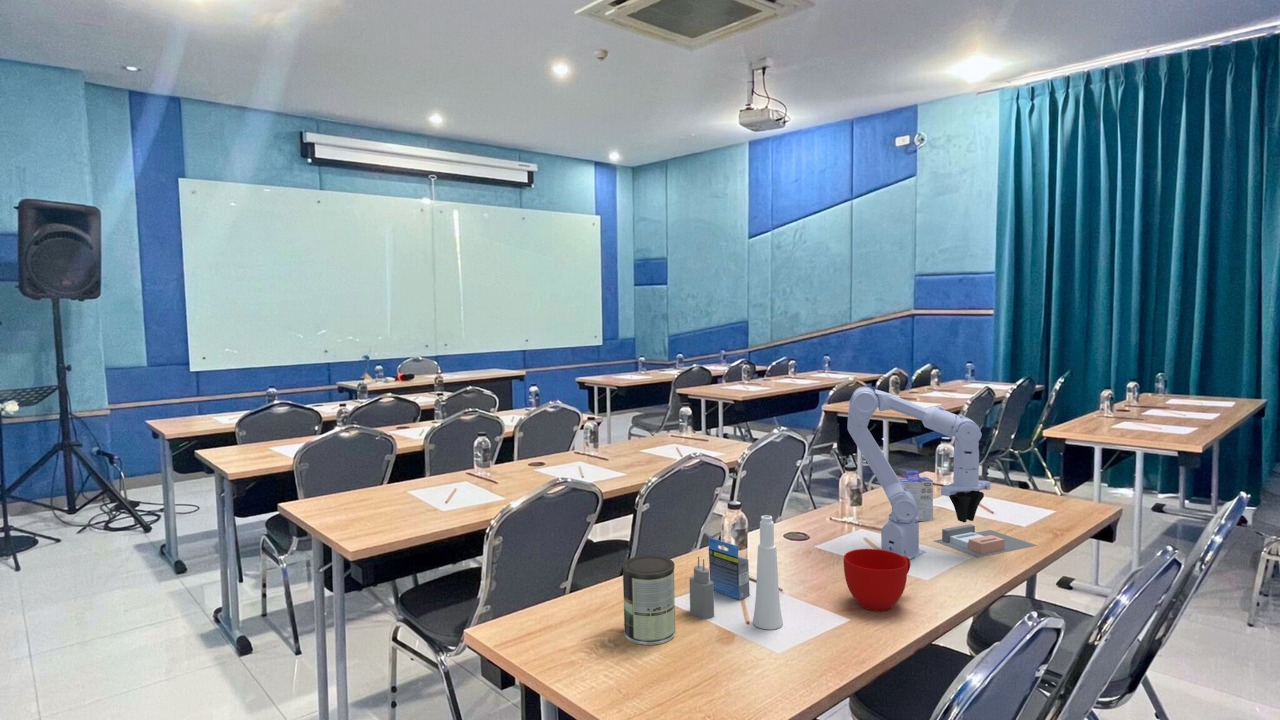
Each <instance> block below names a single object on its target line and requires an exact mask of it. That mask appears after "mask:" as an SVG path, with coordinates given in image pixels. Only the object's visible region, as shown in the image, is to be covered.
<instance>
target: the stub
mask: <svg viewBox="0 0 1280 720" xmlns="http://www.w3.org/2000/svg"><path fill="white" fill-rule="evenodd" d="M1004 549H1005V539H1002V538H999V537H996V536H993V535H989V536H984V537H979V538H974V539H969V550H972V551H975V552H977V553H980V554H985V553H989V552H994V551H999V550H1004Z"/></svg>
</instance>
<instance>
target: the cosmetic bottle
mask: <svg viewBox="0 0 1280 720" xmlns="http://www.w3.org/2000/svg"><path fill="white" fill-rule="evenodd" d="M760 519H761V520H760V522H759V543H758V545H757V557H756V558H757V560H756V586H755V587H756V589H755V602H754V609H753V612H754V613H753V617H752V624H753V625H754V626H755V627H756V628H759V629H762V630H778V629H779V628H781V627H783V624H784V622H783V621H784V620H783V616H782V610H781V602H780V589H779V588H780V587H779V571H778V569H779V568H778V555H777V545H776V544H775V524H774V522H775V521H773V517H772V515H767V514H765V515H761V516H760Z"/></svg>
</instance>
